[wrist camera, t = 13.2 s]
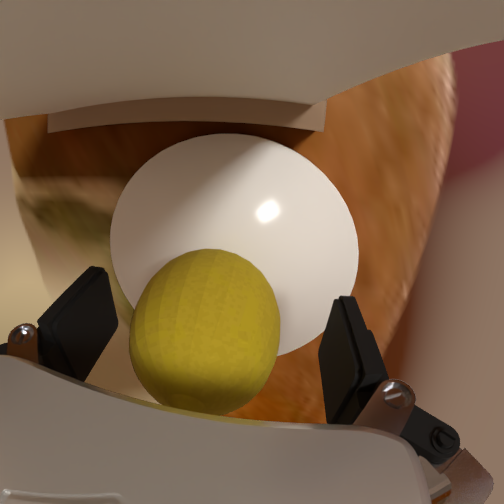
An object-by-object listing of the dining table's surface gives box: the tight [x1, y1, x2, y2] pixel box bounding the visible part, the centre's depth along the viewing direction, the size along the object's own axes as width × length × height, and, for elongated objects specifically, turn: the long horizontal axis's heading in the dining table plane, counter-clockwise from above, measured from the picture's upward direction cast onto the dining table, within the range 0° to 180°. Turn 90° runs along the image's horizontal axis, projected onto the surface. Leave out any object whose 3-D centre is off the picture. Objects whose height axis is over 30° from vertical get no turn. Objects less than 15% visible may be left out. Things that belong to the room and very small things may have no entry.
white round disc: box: [110, 133, 359, 356], centre depth 14 cm, size 13×13×1 cm
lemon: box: [129, 248, 280, 416], centre depth 10 cm, size 6×6×8 cm
